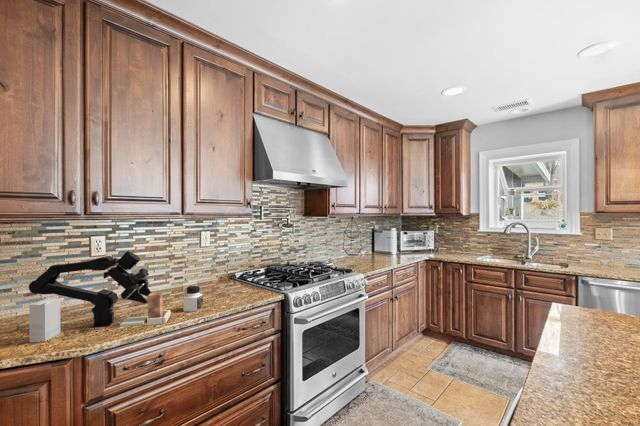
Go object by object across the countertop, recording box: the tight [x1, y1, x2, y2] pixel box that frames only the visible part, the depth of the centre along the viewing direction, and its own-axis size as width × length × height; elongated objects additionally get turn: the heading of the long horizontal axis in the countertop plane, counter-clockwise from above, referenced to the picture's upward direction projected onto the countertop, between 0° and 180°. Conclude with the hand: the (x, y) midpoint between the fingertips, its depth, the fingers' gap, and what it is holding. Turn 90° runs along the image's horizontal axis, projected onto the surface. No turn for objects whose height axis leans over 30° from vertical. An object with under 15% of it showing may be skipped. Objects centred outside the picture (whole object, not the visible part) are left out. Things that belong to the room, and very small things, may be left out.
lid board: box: [119, 315, 148, 328], centre depth 139 cm, size 9×9×1 cm
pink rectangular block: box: [147, 291, 164, 319], centre depth 141 cm, size 5×5×12 cm
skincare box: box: [29, 298, 61, 343], centre depth 121 cm, size 8×6×15 cm
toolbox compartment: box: [146, 309, 171, 326], centre depth 142 cm, size 7×12×2 cm, turn 16°
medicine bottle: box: [183, 284, 204, 312], centre depth 157 cm, size 7×7×12 cm
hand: (149, 299), depth 141 cm, fingers open, 9 cm apart
